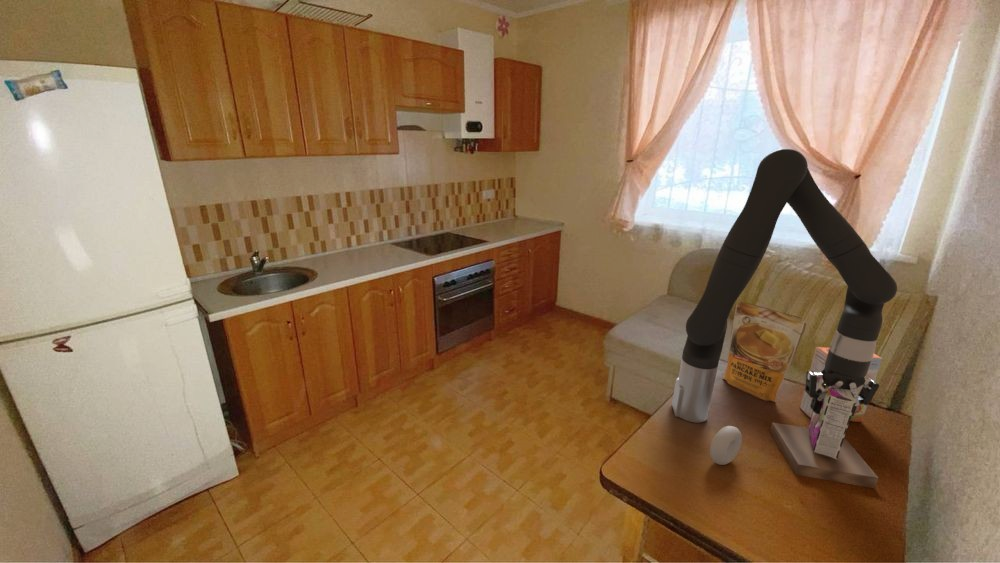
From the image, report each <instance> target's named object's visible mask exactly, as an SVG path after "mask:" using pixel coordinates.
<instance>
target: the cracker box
mask: <svg viewBox="0 0 1000 563" xmlns="http://www.w3.org/2000/svg"><path fill="white" fill-rule="evenodd" d="M829 348H830V347H828V346H827V347H825V346H824V347H823V346H816V347H815V348H814V351H813V352H814V353H813V355H812V360H811V364H810V368H809V371H812V372H813V373H821V371H823V370H824V368H825V361H826V358H827V355H828V352H829ZM882 360H883V357H881V356H880V355H877V354H876V353H874V355H873V357H872V360H871V363H870V366H869V369H868V372H867V375H866V376H865V379H868V378H871V379H873V380H874V381H875V382H876V380H877V376H878V373H879V370H880V367H881V364H882ZM821 382H822V378H821V379H820V380H819V382H818V383H817V385H816V389H817V388H818V385H819V384H820V383H821ZM862 387H863V385H861V386H860V387H858V388H857V392H858V394H859V393H860V391H861V389H862ZM811 402H812V398H811V397H810V396H809V395H808V394H807V392H806V391H805V389H804V391H803V393H802V398H801V403H800V406H799V408H800V410H802V412H804V414H805V415H806V416H808V418H810V419H811V418H812V414H813V410H812V409H811V407H810V405H811ZM867 408H868V405H864V404H860V405H859V406H857V407H856V410H855V413H854V415H853V416H851V419H850V422H855V423H856V422H857V423H862V422H863V419H864V416H865V412H866V410H867Z"/></svg>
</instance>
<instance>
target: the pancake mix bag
mask: <svg viewBox="0 0 1000 563" xmlns="http://www.w3.org/2000/svg"><path fill="white" fill-rule="evenodd" d="M734 305H735V306H734V312H733V319H732V320H733V322H732V327H731V332H730V340H729V350H728V357H727V364H726V365H727V366H726V369H725V372H724V375H723V376H722V380H725V381H726V383H727V384H728V385H730V386H732V387H734V388H736V389H738V390H740V391H742V392H744V393H746V394H748V395H751V396H753V397H755V398H757V399H759V400H762V401H765V402H769V401H770V402H773V403H776V402H777V393H778V391H779V390H780V387H781V386H782V384H783V381H784V378H785V377H786V374H787V372H788V370H789V368H790V366H791V364H792V362H793V358H794V356H795V355H796V353H797V351H798V348H799V346H800V345H799V344H800V342H801V340H802V337H803V335H804V333H805V329H806V326H807V325H806V324H807V323H806V321H804V320H803V318H802V317H800V316H797V315H792V314H789V313H786V312H780V311H778V310H775V309H770V308H768V307H765V306H760V305H756V304H752V303H748V302H745V301H744V302H743V301H738V302H735V304H734Z"/></svg>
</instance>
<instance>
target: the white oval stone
mask: <svg viewBox="0 0 1000 563" xmlns="http://www.w3.org/2000/svg"><path fill="white" fill-rule="evenodd" d="M742 440H743V436H742V432H741V431H740V430H739V429H738V428H737V426H736V427H735V426H734V425H733V426H732V425H727V426H724V427H722V428H721V429H719V430H718V432H717V433H716V434H715V435H714V437H713V439H712V440H711V444H710V449H709V454H710V458H711V459H712V461H713V462H714V463H715V464H717V465H727V464H729V463H731V462H732V461H733V460H734V459H735V458H736V456H737V455H738V453H739V451H740V449H741V446H742V442H743V441H742Z"/></svg>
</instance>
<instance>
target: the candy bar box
mask: <svg viewBox="0 0 1000 563" xmlns="http://www.w3.org/2000/svg"><path fill="white" fill-rule="evenodd" d="M822 381H823V379H822ZM825 388H826V389H828V391H827V394H826V395H825V398H824V400H823V404H822V407H821V411H820V414H816V413H814V411H813V414H812V418H810V422H809V425H808V428H809V432H810V436H811V442H812V447H813V452H815V453H817V454H820V455H824V456H827V457H830V458H834V459H837V458H838V455H839V452H840V449H841V446H842V443H843V440H844V438H845V437H846V433H847V431H848V427H849V424H850V422H851V421H850V419H851V415H852V412H853V409H854V407H855V404H856V400H855V397H854V395H853V392H851V391H850V390H846V389H839V388H837V389H829V387H827V386H825Z"/></svg>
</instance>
